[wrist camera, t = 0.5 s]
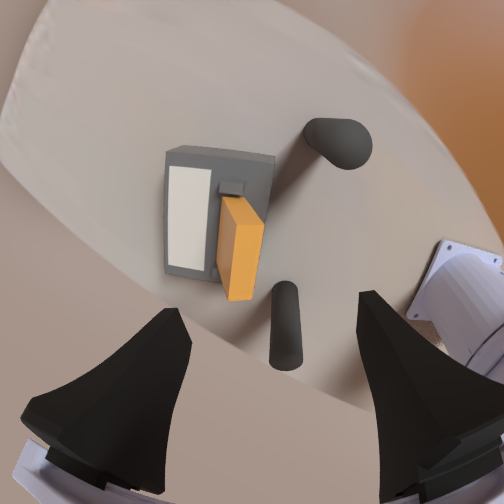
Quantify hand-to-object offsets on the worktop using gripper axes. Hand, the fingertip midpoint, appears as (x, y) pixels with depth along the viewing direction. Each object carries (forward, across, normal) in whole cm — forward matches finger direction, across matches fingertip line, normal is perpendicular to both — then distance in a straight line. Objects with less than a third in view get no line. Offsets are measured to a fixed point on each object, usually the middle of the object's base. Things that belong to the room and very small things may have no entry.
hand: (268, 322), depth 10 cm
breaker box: (+9, +3, -2) cm, 10 cm away
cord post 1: (+10, 0, +6) cm, 11 cm away
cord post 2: (+9, -4, -6) cm, 12 cm away
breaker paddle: (+6, +2, -2) cm, 7 cm away
